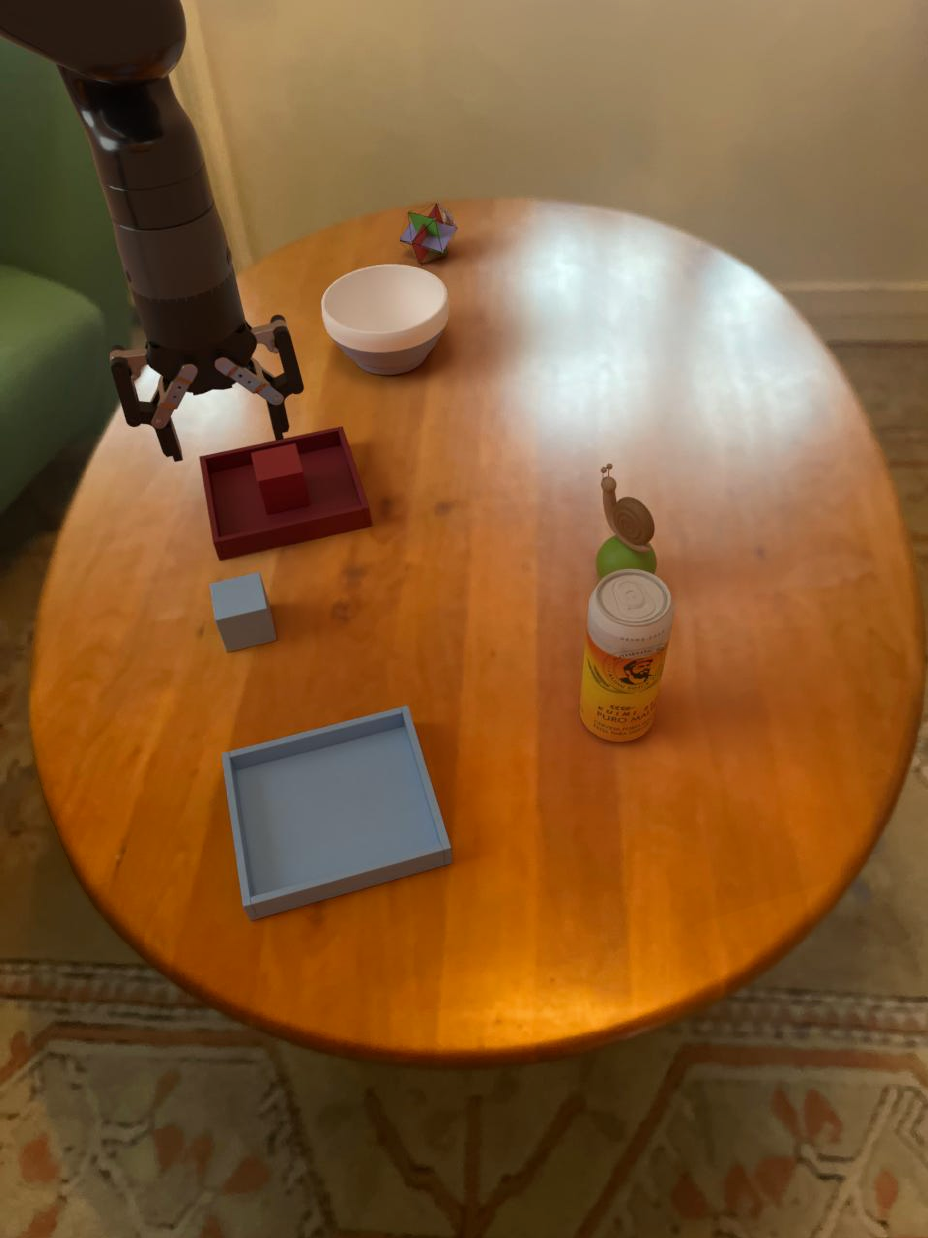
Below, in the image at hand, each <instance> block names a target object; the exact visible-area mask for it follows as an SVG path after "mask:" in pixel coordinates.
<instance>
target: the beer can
mask: <svg viewBox="0 0 928 1238" xmlns="http://www.w3.org/2000/svg"><path fill="white" fill-rule="evenodd" d="M671 595H672V594H671V592H670V590H669V588H668V586H667V584H666V583H665V582H664V581H663V580H662V579H661V578H660V577H659V576H657V575H655V574H654V575H653V574H651V573H649V572H646V571H643V570H638V569H623V570H618V571H615V572H612V573H610V574H608V575H607V576H605V577H604V578H603V579H602V580H601V579H600V581H599V583H598V584H597V586H596V587H595V588H594V589H593V591H592V592H591V594H590V596H589V600H588V607H587V618H586V619H587V620H586V629H585V630H586V631H585V642H584V652H583V665H582V675H581V686H580V695H579V697H580V698H579V706H578V707H579V715H580V716H579V717H580V719H581V721H582V723H583V725H584V726H585V727H586V728H587V730H588V731H590V732H591V733H592V734H594V735H595V736H597V737H599V738H600V739H603V740H606V741H609V742H616V743H617V742H618V743H621V742H630V741H633V740H636V739H638V738H640V737H642V736H643V735H644V734H646V733H647V732H648V731H649V729H650V728H651V727H652V724H653V722H654V719H655V713H656V711H657V710H656V709H657V704H658V699H659V694H660V689H661V684H662V679H663V673H664V668H665V663H666V657H667V653H668V647H669V643H670V638H671V633H672V629H673V623H674V617H675V610H676V609H675V603H674V600H673V598H672V596H671Z"/></svg>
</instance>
